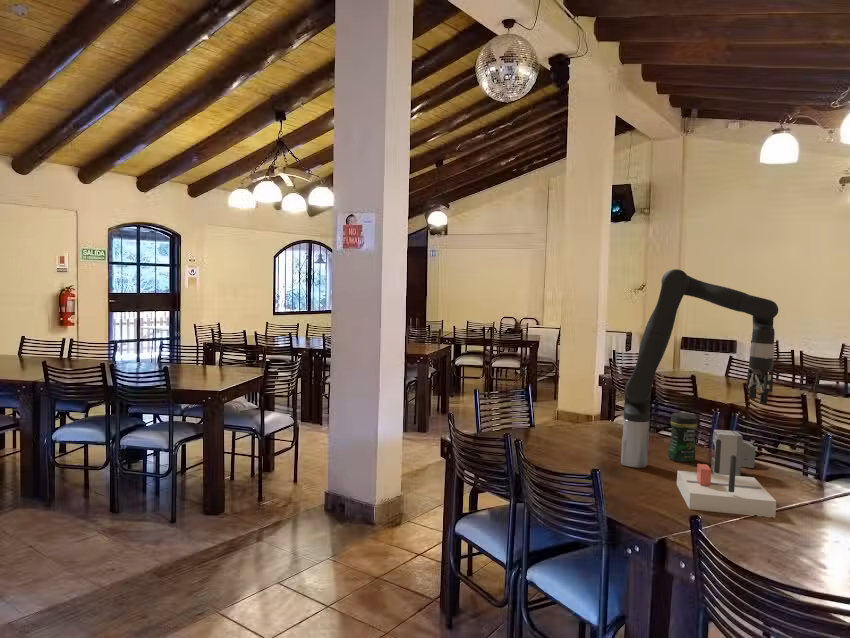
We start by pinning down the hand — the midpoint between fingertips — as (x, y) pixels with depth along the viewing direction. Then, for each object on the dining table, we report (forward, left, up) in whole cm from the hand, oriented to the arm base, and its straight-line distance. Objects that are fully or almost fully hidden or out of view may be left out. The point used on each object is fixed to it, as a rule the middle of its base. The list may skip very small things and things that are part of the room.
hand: (757, 400), depth 227 cm
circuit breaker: (-5, +4, -28) cm, 29 cm away
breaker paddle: (-22, -29, -23) cm, 43 cm away
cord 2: (-16, -39, -23) cm, 48 cm away
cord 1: (-16, -19, -23) cm, 34 cm away
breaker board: (-16, -29, -28) cm, 44 cm away
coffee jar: (-21, +17, -28) cm, 39 cm away
